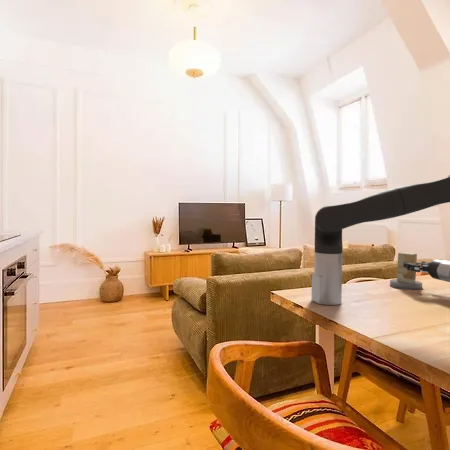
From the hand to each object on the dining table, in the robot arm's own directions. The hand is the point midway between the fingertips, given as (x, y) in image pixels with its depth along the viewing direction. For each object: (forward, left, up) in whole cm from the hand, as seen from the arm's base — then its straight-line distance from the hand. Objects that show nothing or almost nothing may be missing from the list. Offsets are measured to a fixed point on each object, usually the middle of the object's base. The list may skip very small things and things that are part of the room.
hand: (412, 264), depth 139 cm
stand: (0, +4, -10) cm, 11 cm away
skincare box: (0, +4, -8) cm, 9 cm away
